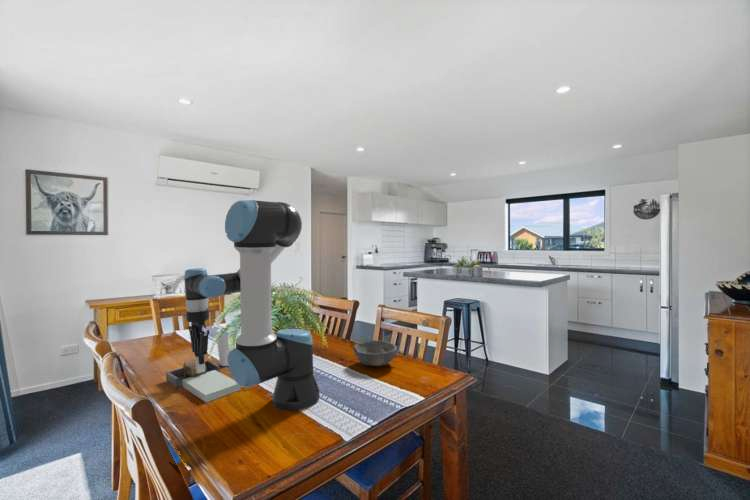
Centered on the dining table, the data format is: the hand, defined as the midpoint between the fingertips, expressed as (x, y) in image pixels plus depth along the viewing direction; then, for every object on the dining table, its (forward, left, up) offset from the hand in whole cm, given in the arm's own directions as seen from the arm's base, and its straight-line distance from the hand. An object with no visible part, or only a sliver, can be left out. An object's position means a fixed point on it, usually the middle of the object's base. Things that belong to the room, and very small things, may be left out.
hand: (200, 371), depth 133 cm
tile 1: (+7, 0, -1) cm, 7 cm away
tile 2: (+3, 0, -1) cm, 4 cm away
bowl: (-40, -54, -4) cm, 68 cm away
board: (-8, 0, -4) cm, 9 cm away
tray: (+7, 0, -4) cm, 8 cm away
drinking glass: (+11, -15, -4) cm, 19 cm away
